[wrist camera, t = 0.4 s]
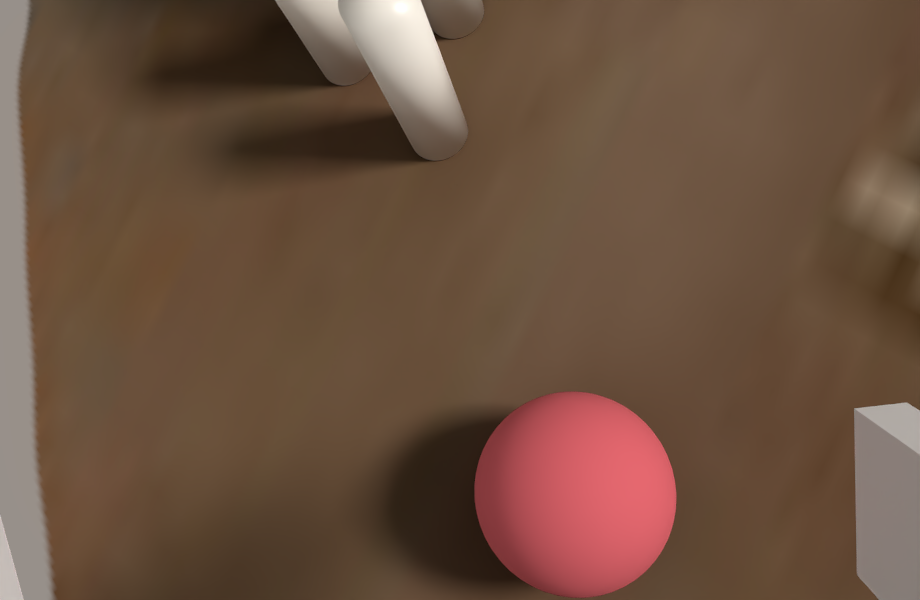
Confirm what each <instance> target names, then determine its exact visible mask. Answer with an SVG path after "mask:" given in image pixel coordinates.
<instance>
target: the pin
mask: <svg viewBox="0 0 920 600" xmlns="http://www.w3.org/2000/svg"><path fill="white" fill-rule="evenodd" d="M275 1H276V2H277V4H278V6H279V7H280V9H281V10H282V12H283V13H284V15H285V16H286V18H287V19H288V21H289V22H290V24H291V25H292V27H293V28H294V30H295V31H296V33H297V34H298V36H299V38H300V39H301V41H302V42H303V44H304V45H305V47H306V48H307V50H308V51H309V53H310V54H311V56H312V57H313V59H314V60H315V62H316V63H317V65H318V66H319V68H320V70H321V71H322V73H323V74H324V76H325V77H326V78H327V79H328V80H329V81H330V82H332V83H334V84H336V85H341V86H347V85H352V84H355V83H357V82H359V81H361V80H362V79H364V78H365V77H366V76H367V75H368V74H369V73H370V71H371V70H370V68H369V67H368V65H367V63H366V61H365V59H364V57H363V56H362V54H361V52H360V50H359V48H358V46H357V45H356V43H355V41H354V39H353V37H352V35H351V34H350V32H349V30H348V28H347V26H346V24H345V23H344V21H343V19H342V17H341V15H340V13H339V9H338V0H275Z"/></svg>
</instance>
